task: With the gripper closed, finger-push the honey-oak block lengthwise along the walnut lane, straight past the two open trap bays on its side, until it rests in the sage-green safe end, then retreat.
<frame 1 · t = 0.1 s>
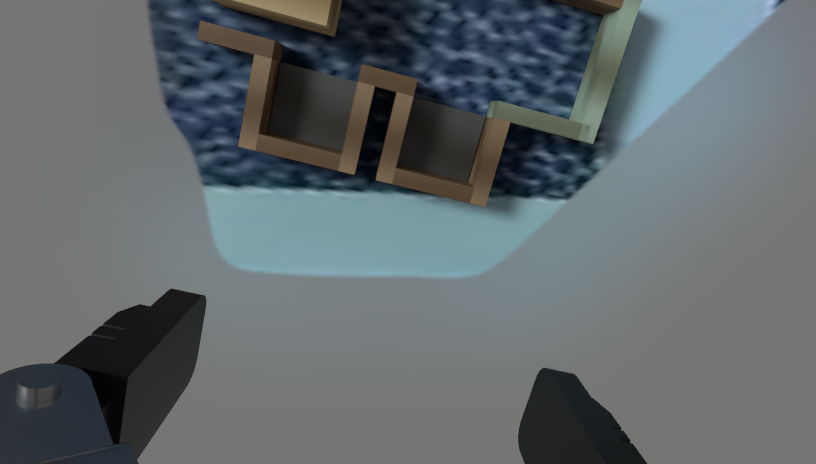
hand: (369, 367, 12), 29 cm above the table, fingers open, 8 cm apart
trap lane: (415, 22, 37), on the table
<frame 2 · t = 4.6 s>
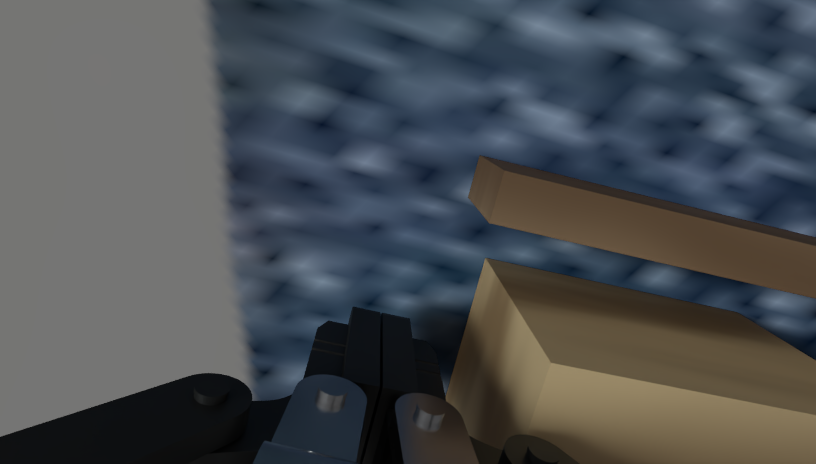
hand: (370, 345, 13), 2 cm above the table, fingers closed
block: (588, 360, 16), on the table, touching gripper
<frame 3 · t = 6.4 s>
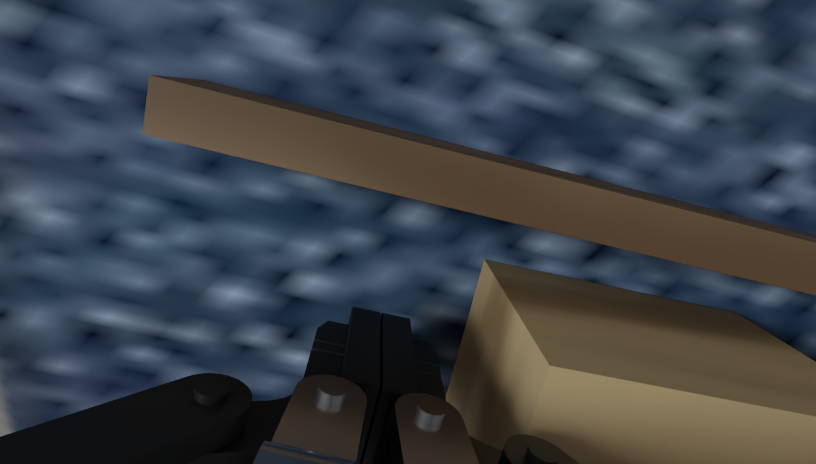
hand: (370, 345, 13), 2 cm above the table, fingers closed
block: (587, 361, 16), on the table, touching gripper
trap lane: (632, 364, 16), on the table
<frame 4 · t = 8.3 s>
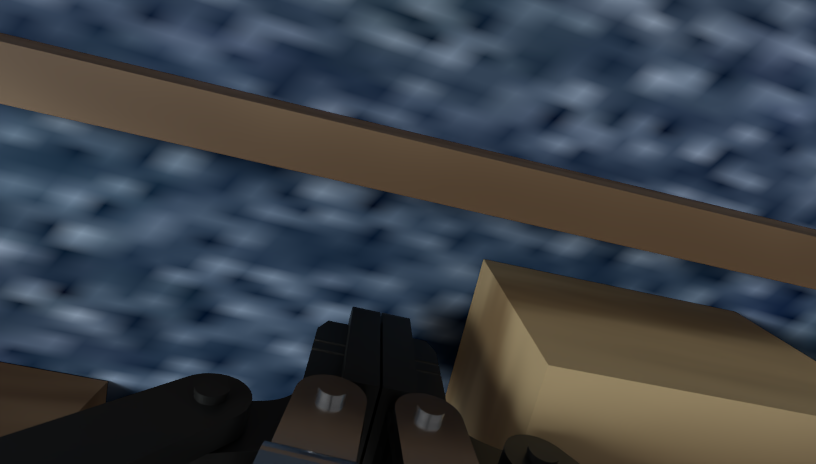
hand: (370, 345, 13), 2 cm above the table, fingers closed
block: (586, 360, 16), on the table, touching gripper
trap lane: (432, 320, 15), on the table
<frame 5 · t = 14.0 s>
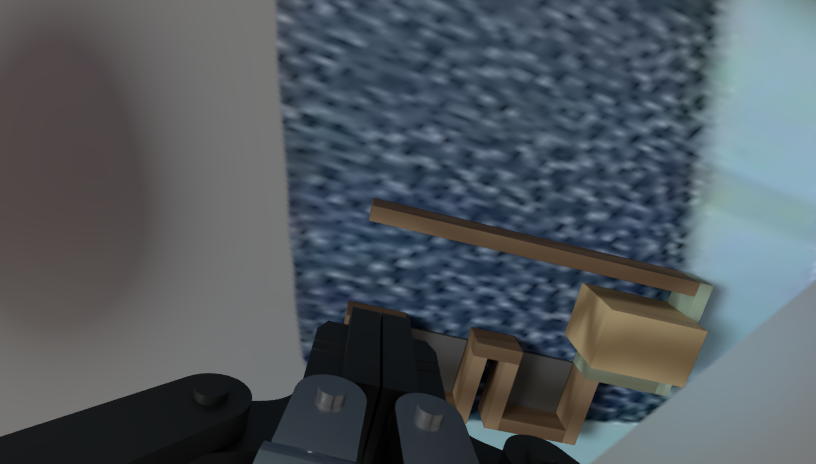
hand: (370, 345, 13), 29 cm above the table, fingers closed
block: (615, 317, 45), on the table
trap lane: (517, 292, 44), on the table
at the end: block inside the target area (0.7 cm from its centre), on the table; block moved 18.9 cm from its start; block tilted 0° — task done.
